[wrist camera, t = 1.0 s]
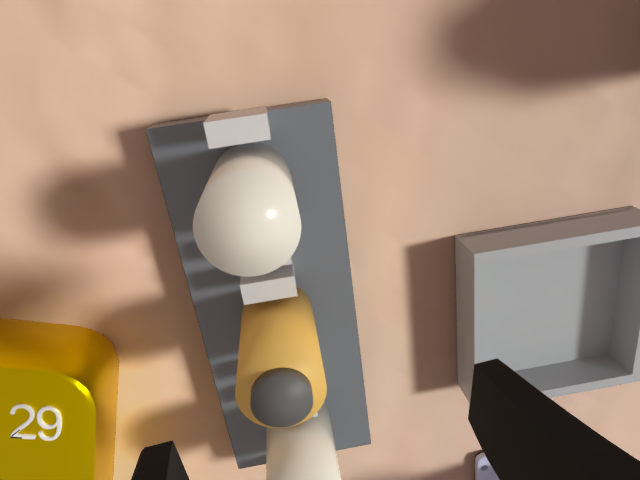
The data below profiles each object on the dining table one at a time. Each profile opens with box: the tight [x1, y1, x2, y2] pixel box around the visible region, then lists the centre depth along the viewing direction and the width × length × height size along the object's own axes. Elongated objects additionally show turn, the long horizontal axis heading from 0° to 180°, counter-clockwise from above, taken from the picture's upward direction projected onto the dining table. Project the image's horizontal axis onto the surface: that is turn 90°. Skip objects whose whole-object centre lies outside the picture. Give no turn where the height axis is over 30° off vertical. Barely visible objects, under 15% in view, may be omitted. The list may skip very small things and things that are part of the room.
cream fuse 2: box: [266, 403, 341, 480], centre depth 24 cm, size 4×4×6 cm
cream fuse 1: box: [193, 143, 301, 277], centre depth 18 cm, size 4×4×6 cm
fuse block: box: [146, 98, 371, 469], centre depth 23 cm, size 20×8×4 cm, turn 8°
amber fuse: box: [235, 287, 327, 428], centre depth 21 cm, size 4×4×7 cm
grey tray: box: [455, 206, 640, 403], centre depth 26 cm, size 10×10×2 cm
